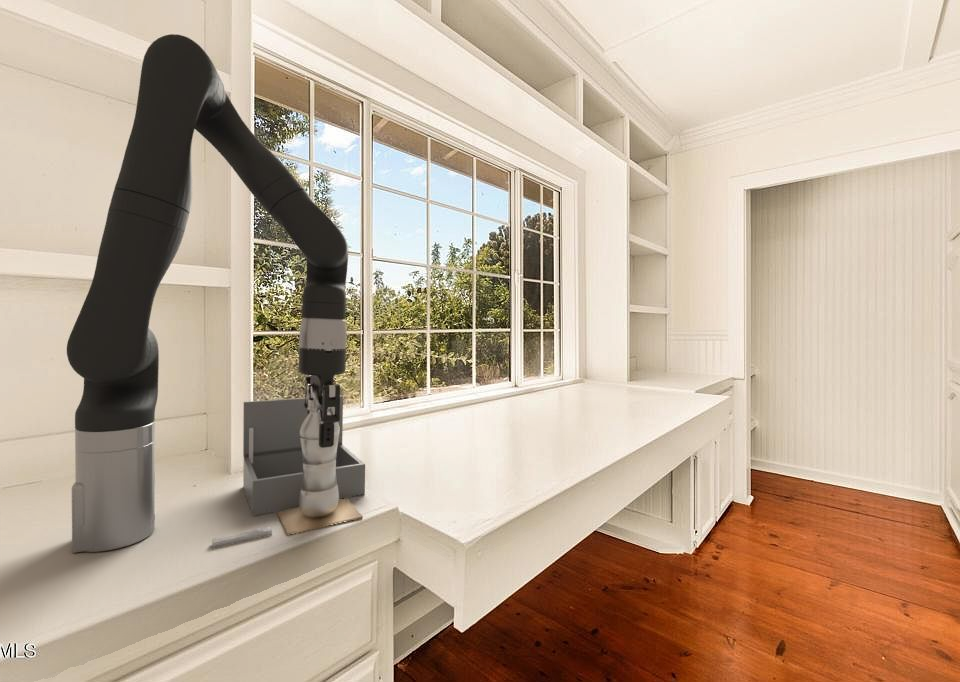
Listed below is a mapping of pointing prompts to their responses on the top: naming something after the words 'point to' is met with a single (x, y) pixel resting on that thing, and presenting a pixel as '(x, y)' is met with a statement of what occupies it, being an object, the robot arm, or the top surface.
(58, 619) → the top surface
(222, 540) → the rod
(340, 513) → the cork pad
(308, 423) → the plastic bottle
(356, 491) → the case
